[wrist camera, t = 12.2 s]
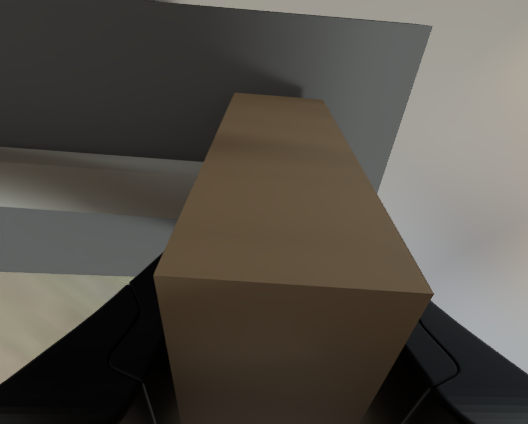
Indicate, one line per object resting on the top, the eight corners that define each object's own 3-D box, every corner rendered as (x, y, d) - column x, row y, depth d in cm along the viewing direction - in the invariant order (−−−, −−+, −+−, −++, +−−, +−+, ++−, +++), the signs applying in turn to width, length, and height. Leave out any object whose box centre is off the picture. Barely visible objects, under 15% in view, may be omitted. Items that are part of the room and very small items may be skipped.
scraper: (293, 266, 12) (313, 502, 6) (-53, 243, 12) (-366, 469, 6) (326, 80, 8) (457, 253, 2) (-190, 38, 8) (-1470, 117, 2)
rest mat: (341, 268, 14) (346, 284, 14) (-54, 252, 13) (-74, 268, 13) (416, 23, 9) (432, 26, 8) (-256, -34, 8) (-316, -39, 7)
